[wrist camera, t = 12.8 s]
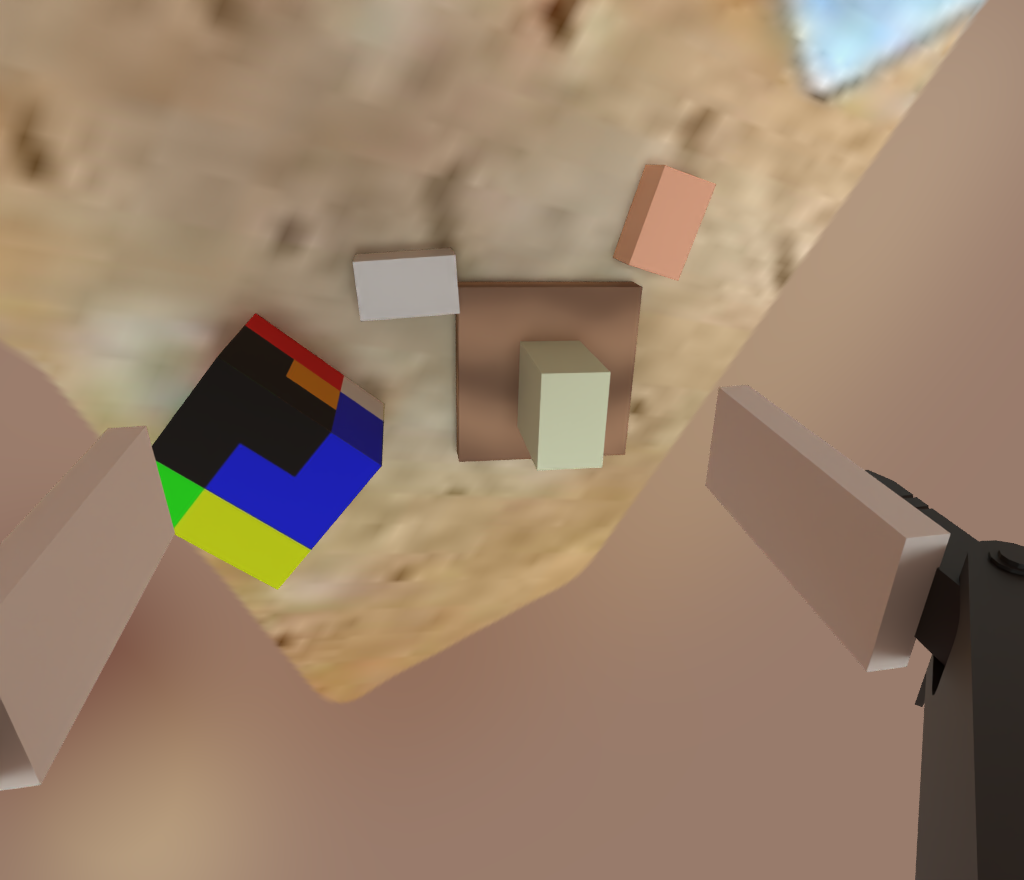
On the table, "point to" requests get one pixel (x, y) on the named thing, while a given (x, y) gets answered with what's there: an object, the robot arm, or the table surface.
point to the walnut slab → (536, 317)
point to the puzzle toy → (267, 453)
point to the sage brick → (562, 404)
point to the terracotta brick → (663, 220)
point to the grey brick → (406, 284)
